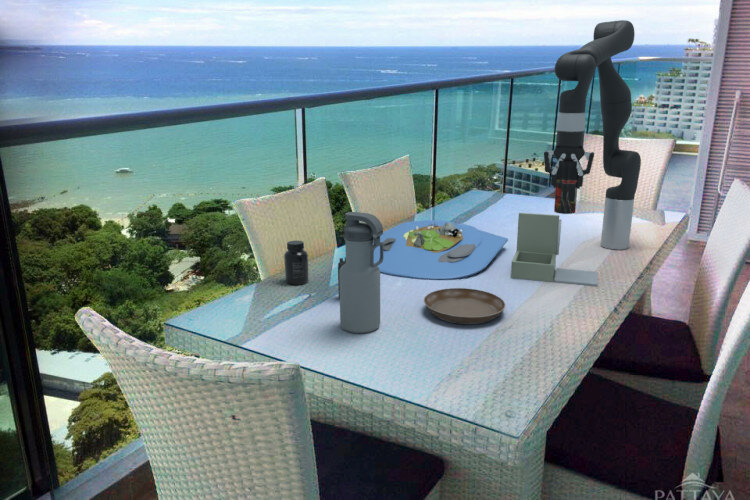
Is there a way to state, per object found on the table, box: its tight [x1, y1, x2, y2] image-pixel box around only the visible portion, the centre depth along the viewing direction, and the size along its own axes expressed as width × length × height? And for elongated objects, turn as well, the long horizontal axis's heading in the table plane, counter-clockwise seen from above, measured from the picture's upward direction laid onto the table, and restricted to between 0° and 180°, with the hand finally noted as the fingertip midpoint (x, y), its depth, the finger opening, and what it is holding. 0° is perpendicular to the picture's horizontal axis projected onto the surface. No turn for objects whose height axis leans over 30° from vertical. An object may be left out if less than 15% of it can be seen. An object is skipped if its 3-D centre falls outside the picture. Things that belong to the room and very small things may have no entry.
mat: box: [553, 267, 599, 287], centre depth 189 cm, size 12×12×1 cm
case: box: [510, 212, 562, 283], centre depth 191 cm, size 13×13×17 cm
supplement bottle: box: [283, 240, 310, 286], centre depth 185 cm, size 7×7×12 cm
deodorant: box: [553, 160, 580, 215], centre depth 183 cm, size 6×6×15 cm
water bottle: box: [339, 211, 384, 334], centre depth 151 cm, size 10×10×28 cm
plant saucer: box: [423, 287, 506, 325], centre depth 163 cm, size 21×21×3 cm
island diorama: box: [373, 219, 509, 281], centre depth 208 cm, size 45×43×12 cm
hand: (566, 187), depth 183 cm, fingers closed on deodorant, 6 cm apart
